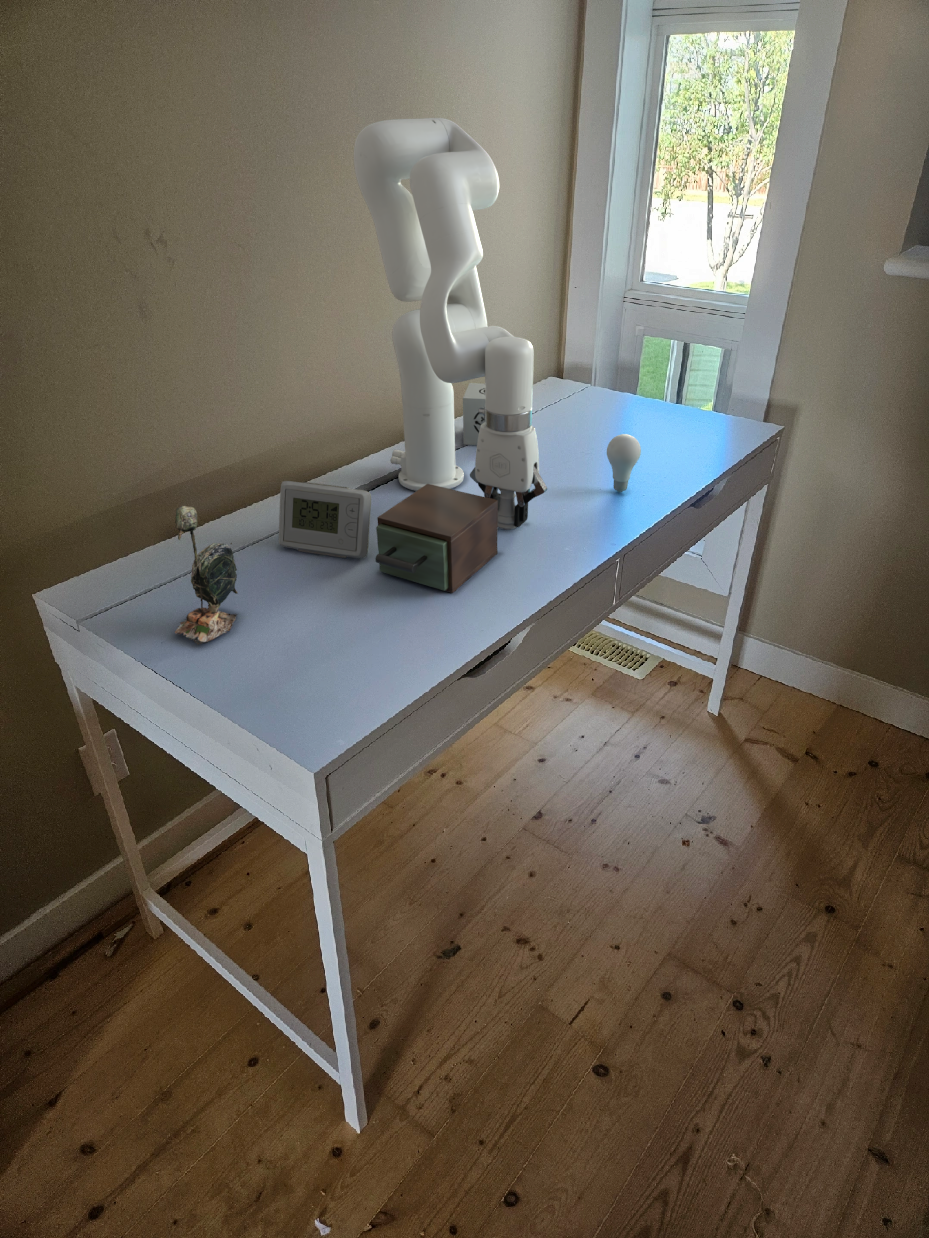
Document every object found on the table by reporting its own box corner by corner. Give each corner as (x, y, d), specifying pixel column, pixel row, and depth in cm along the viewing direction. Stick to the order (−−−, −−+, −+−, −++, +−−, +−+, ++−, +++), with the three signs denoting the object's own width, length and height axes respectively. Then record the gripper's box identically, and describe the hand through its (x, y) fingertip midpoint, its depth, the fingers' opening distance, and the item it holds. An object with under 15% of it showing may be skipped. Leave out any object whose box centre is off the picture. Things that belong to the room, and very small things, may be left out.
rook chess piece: (518, 531, 141) (518, 488, 137) (492, 529, 142) (492, 486, 138) (521, 520, 145) (522, 477, 141) (496, 518, 146) (496, 475, 141)
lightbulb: (614, 482, 158) (619, 426, 152) (642, 490, 154) (648, 434, 148) (597, 493, 154) (601, 436, 148) (626, 501, 150) (631, 444, 144)
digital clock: (273, 548, 138) (264, 489, 132) (307, 526, 144) (300, 469, 138) (353, 570, 131) (346, 509, 125) (385, 546, 137) (380, 487, 132)
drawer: (429, 604, 121) (426, 557, 116) (363, 583, 126) (358, 538, 121) (487, 554, 133) (487, 510, 129) (425, 537, 138) (423, 494, 134)
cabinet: (452, 593, 125) (450, 536, 119) (381, 572, 130) (377, 517, 125) (497, 553, 135) (497, 500, 130) (429, 535, 140) (427, 483, 135)
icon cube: (515, 429, 182) (515, 384, 176) (510, 446, 174) (511, 399, 168) (470, 427, 183) (469, 383, 178) (463, 444, 175) (462, 398, 169)
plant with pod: (263, 617, 120) (240, 490, 109) (196, 652, 113) (165, 520, 102) (229, 598, 125) (204, 475, 114) (163, 631, 117) (129, 502, 106)
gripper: (451, 417, 134) (454, 519, 144) (545, 435, 127) (541, 540, 137) (474, 403, 139) (475, 502, 149) (566, 420, 132) (560, 522, 142)
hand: (507, 519), depth 143 cm, fingers closed on rook chess piece, 4 cm apart
